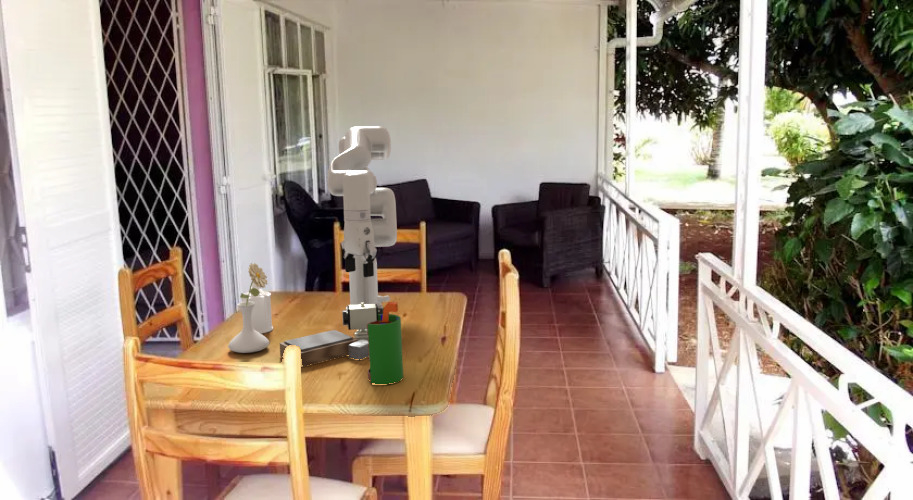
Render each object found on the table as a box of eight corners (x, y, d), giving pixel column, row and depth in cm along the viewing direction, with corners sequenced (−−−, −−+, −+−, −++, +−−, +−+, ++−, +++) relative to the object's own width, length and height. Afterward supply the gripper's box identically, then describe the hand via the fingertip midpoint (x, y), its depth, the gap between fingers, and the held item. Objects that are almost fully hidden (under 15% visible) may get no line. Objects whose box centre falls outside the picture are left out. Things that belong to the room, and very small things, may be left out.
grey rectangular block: (362, 352, 207) (362, 339, 207) (373, 355, 205) (373, 341, 205) (348, 358, 202) (348, 344, 202) (360, 361, 200) (359, 347, 200)
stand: (336, 343, 216) (335, 328, 215) (358, 353, 207) (357, 337, 206) (280, 356, 204) (279, 341, 203) (301, 367, 195) (300, 351, 194)
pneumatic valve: (384, 343, 215) (383, 303, 213) (344, 345, 213) (342, 305, 211) (382, 337, 221) (381, 299, 219) (343, 340, 219) (341, 301, 217)
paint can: (236, 330, 230) (232, 268, 226) (262, 324, 237) (258, 263, 233) (255, 337, 223) (251, 273, 219) (281, 330, 230) (277, 268, 226)
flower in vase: (247, 358, 203) (242, 270, 198) (220, 352, 209) (213, 266, 204) (282, 346, 214) (277, 262, 209) (254, 340, 220) (249, 258, 215)
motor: (368, 372, 191) (366, 298, 187) (403, 371, 192) (401, 296, 188) (367, 386, 181) (364, 308, 177) (403, 385, 182) (401, 306, 178)
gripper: (385, 217, 206) (386, 276, 209) (352, 212, 219) (354, 268, 222) (362, 220, 201) (364, 280, 204) (330, 214, 215) (333, 271, 218)
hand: (359, 274), depth 213 cm, fingers open, 9 cm apart
